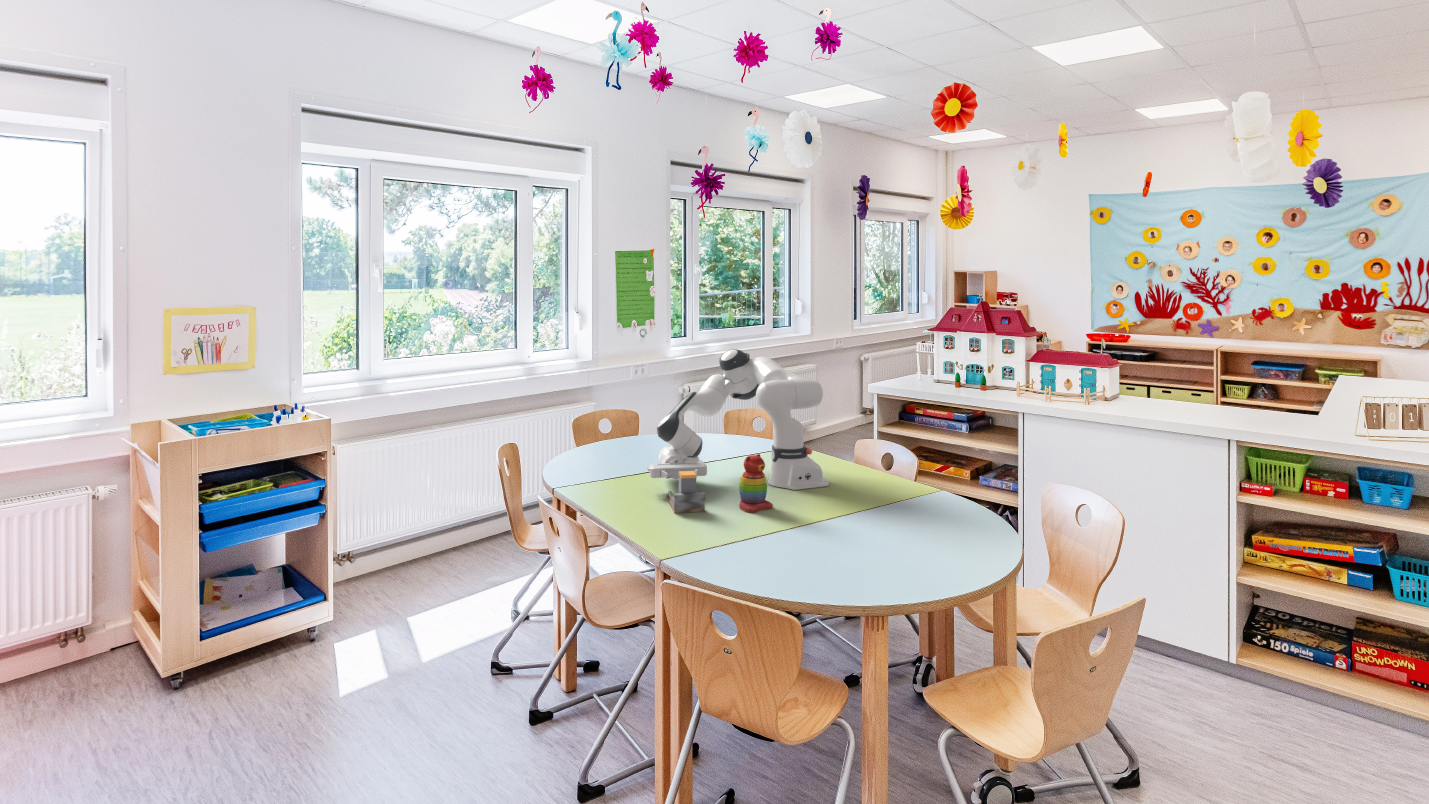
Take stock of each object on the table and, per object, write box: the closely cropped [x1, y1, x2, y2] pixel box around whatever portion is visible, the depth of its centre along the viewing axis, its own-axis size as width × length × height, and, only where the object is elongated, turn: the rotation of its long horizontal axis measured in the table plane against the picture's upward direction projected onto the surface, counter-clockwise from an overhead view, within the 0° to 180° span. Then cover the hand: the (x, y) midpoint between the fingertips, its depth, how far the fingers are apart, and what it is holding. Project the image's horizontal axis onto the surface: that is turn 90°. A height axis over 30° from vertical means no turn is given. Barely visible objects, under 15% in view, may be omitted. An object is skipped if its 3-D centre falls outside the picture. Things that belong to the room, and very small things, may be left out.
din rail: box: [665, 490, 706, 514], centre depth 257 cm, size 10×18×6 cm, turn 12°
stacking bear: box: [738, 453, 774, 514], centre depth 254 cm, size 11×10×18 cm
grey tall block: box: [678, 471, 697, 493], centre depth 253 cm, size 5×5×11 cm
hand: (681, 475), depth 263 cm, fingers open, 8 cm apart
